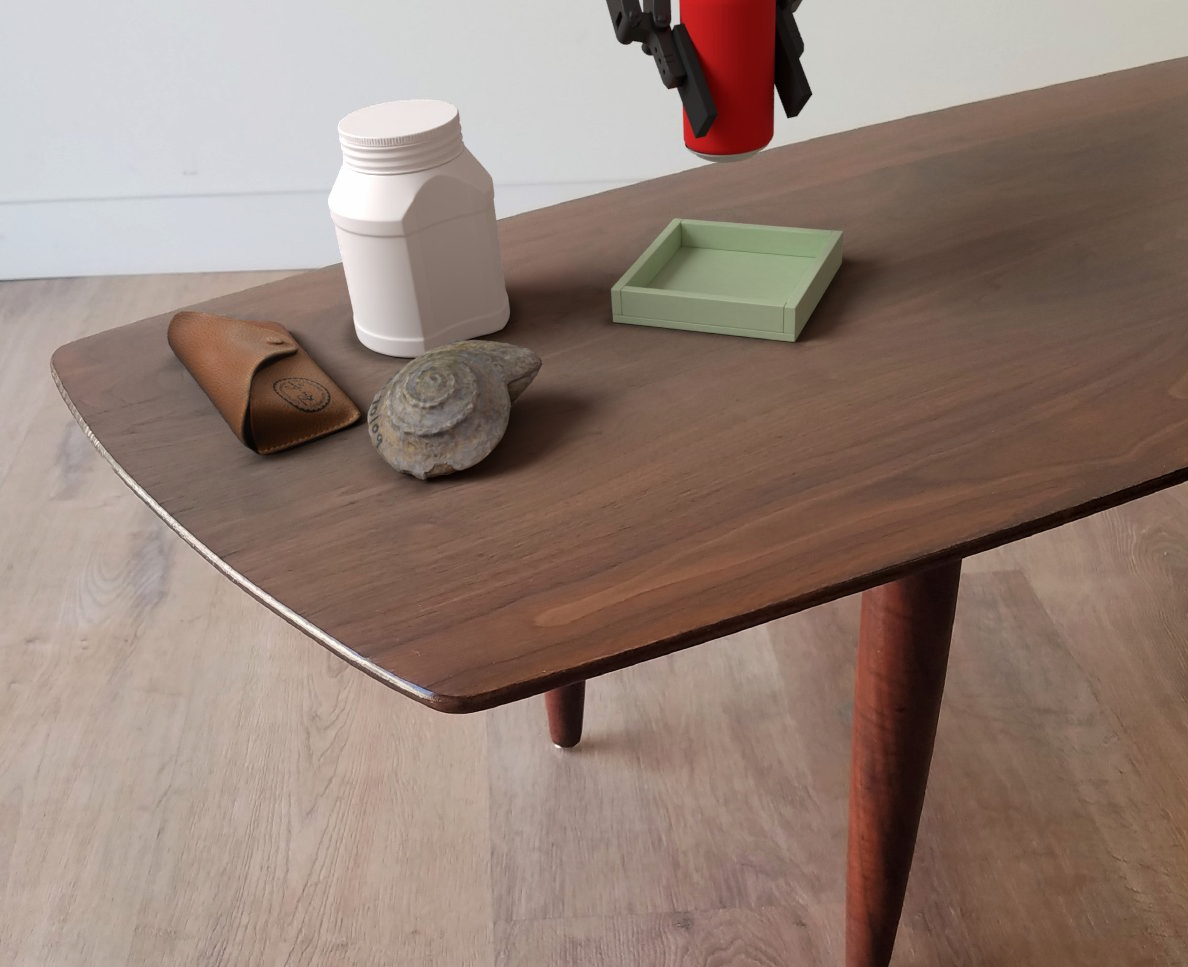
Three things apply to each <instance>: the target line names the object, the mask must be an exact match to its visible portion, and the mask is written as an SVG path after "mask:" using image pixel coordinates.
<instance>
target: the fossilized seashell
mask: <svg viewBox="0 0 1188 967" xmlns="http://www.w3.org/2000/svg"><path fill="white" fill-rule="evenodd" d="M542 367H543V361H542V358H541V357H540V356H539V355H538V354H537V353H536V352H534V351H533V350H531V349H530V348H528V347H524V346H521V345H518V344H511V343H508V342H500V341H493V340H484V339H483V340H481V339H480V340H479V339H468V340H458V341H453V342H450V343H447V344H445V345H443V346H439V347H436V348H433V349H430V350H428V351H427V352H425V353H424V354H422V355H420V356H419V357H417V358H413V359H412V360H411V361H409V362H407V363H406V364H404V365H403V366H402V367H401V368H400V369H398V370H397V371H396V372H395V373H394V374H392V376H390V378H389V379H388V380H387V381H386V382H385V383H384V385H383V386H382V387H381V389H379V392H377V393H376V394H375V395H374V398H373V400H372V402H371V403H370V404H371V405H370V407H369V409H368V412H367V427H368V434H369V437H370V441H371V445H372V446H373V447H374V450H376V452H377V453H378V455H379V456H380V457H381V458H382V460H384V462H386V463H387V464H388V465H390V467H391V468H393V469H394V470H395V471H396V472H398V473H400V474H409V475H412V476H414V477H415V478H416V479H418V480H422V481H424V480H426V479H428V478H435V477H438V476H439V477H440V476H449V475H451V474H453V473H456V472H458V471H463V470H466V469H469V468H471V467H473V466H476V465H477V464H478V463H480V462H482V461H483V460H484V459H485V458H486V457H488V455H489V454H490V453H491V452H493V450H494V449H495V448H496V447H497V446H498V445H499V443H500V442H501V441H502V439H503V437H504V434H505V433H506V431H507V428H508V426H509V420H510V412H511V407H513V406H515V404H516V401H518V399H519V398H520V397H521V395H523V393H524V392H525V391H526V390H527V388H528V387H529V386H530V385H531V384H532V383H533V381H534V380H535V378H536V377H537V376H538V373H539V372H540V370H541V368H542Z"/></svg>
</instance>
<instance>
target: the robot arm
mask: <svg viewBox="0 0 1188 967" xmlns="http://www.w3.org/2000/svg"><path fill="white" fill-rule="evenodd" d="M605 2H606V6H607V10H608V13H609V17H610V20H611V23H612V27H613V31H614V34H615V38H616V40H617V42H618V43H619V44H621V45H624V46H629V45H631V44H632V43H633V42H636V43H641V46H640V48H641V51H642V52H643V54H645V55H647V56H649V57H653V60H654V62H655V66H656V68H657V70H658V73H659V75H660V76H659V77H660V79H661V83H662V84H663V85H664V86H665V88H666V89H667V90H674V89H676V90H677V92H678V95H679V98H680V100H681V103H683V104H682V107H683V106H684V109H685V112H686V114H687V117H688V120H689V123H690V125H691V128H692V131H693V134H694V136H695V139H697V138H701V137H706V135H707V133H708V131H709V130H710V128H711V126H712V125H713V123H714V121H715V119H716V118H717V116H718V112H717V109H716V107H715V104H714V101H713V98H712V96H711V93H710V90H709V88H708V85H707V82H706V79H705V77H704V74H703V71H702V68H701V66H700V63H699V60H698V58H697V55H696V52H695V49H694V47H693V44H692V41H691V38H690V36H689V33H688V31H687V28H686V26H685V23H683V24H680V23H678V24H674V25H673V27H671V23H672V0H642V6H641V2H640V0H605ZM802 2H803V0H776V7H775V85H774V88H775V89H776V92H777V95H778V98H779V101H780V103H781V106H782V108H783V111H784V113H785V116H786V119H792V118H793V119H794V118H797V117H798V116H799V115H800V113H801V112H802V111H803V109H804V108H805V106H806V105H807V103H808V102H809V100H810V99H811V97H812V96H813V92H812V89H811V86H810V82H809V81H808V78H807V75H806V72H805V70H804V68H803V64H802V62H801V57H802V55H803V54H804V52H805V42H804V40H803V37H802V34H801V31H800V30H799V27H798V24H797V21H796V18H795V16H794V14H795V13H796V12H797V10H798V9H799V8H800V5H801V4H802Z"/></svg>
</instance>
